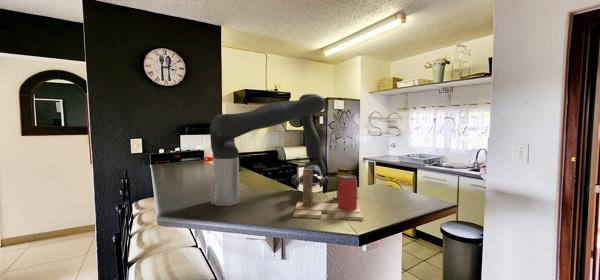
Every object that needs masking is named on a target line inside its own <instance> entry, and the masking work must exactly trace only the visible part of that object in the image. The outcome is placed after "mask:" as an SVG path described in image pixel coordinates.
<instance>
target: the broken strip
mask: <svg viewBox="0 0 600 280" xmlns="http://www.w3.org/2000/svg"><path fill="white" fill-rule="evenodd" d="M322 214H323V213H322V211H310V210H295V209H294V210H293V213H292V217H294V218H306V219H307V218H310V219H313V218H314V219H322ZM362 214H363V213H362V212H361V213H351V212H334V214H333V220H346V221H347V220H348V221H363V220H364V217H363V215H362Z"/></svg>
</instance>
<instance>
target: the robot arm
mask: <svg viewBox="0 0 600 280" xmlns="http://www.w3.org/2000/svg"><path fill="white" fill-rule="evenodd" d="M325 104H326V103H325V99H324V98H323V97H322V96H321V95H320V94H318V93H317V94H316V93H309V94H302V95H301V96H300V97H299V98H298V99H297V100H282V101H276V102H271V103H266V104H264V105H261V106H259V107H257V108H255V109H253V110H250V111H245V112H238V113H221V114H218V115H216V116H214V117H213V118H212V119H211V122H210V127H209V129H210V130H209V131H210V132H209V133H210V147H211V148H210V149H211V152H212V168H213V169H212V171H213V173H212V174H213V177H212V178H210V190H211V191H210V192H211V193H210V196H211V197H210V200H211V201H210V202H211V203H210V204H211V205H215V206H218V207H229V206H234V205H238V204H239V203H240V170H239V169H240V160H239V159H240V156H239V155H240V153H239V149H238V147H237V146H236V142H235V139H236V138H239V137H241V136H243V135H245V134H248V133H250V132H252V131H253V132H254V131H256V130H261V129H267V128H272V127H276V126H278V125H281V124H284V123H288V122H290V121H293V120H296V119H299V118H300V120H301V125H302V129H303V133H304V134H303V135H304V139H305V140H304V141H305V154H306V157H307V158H309V159H314V160H316V161H308V162H306V163H305V164H304V166H303V169H304V168H306V169H312V187H316V186H319V188H322V187H324V185H325V186H329V185H330V183H329V181H330V180H329V179H330V178H329V176H328V175H325V174H326V171H327V169H326V168H327V167H326V165H325V162H324V160H323V155H322V151H321V149H322V148H321V139H320V136H319V133H318V132H317V129H316V127H315V125H314V121H313V116H314V115H318V114H320V113H321V112H322V111H323V109H325ZM324 175H325V176H324ZM322 176H324V177H322ZM291 185H294V186H295V187H299V186H300V185H301V186H303V174H301V175H300V176H298V174H293V175H292V177H291Z"/></svg>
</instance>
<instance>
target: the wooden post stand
mask: <svg viewBox="0 0 600 280" xmlns="http://www.w3.org/2000/svg"><path fill="white" fill-rule="evenodd" d="M302 175H303V185H302V201H297V203H296V204H295V207H294V210H310V211H322V214H333V215H334V212H351V213H362V212H361V210H360V207H359V204H357V209H356V210H351V211H347V210H342V209H339V208H338V203H332V202H331V203H329V202H313V186H312V169H306V168H304V167H303V170H302Z"/></svg>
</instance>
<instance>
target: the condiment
mask: <svg viewBox="0 0 600 280" xmlns="http://www.w3.org/2000/svg"><path fill="white" fill-rule="evenodd" d="M341 175H352V169H351V168H350V167H349V168H348V167H340V168H337V175H336V196H335V195H334V196H333V198H334V199H337V200H338V182H339V179H340V176H341ZM358 198H359V196H357V199H358Z"/></svg>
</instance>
